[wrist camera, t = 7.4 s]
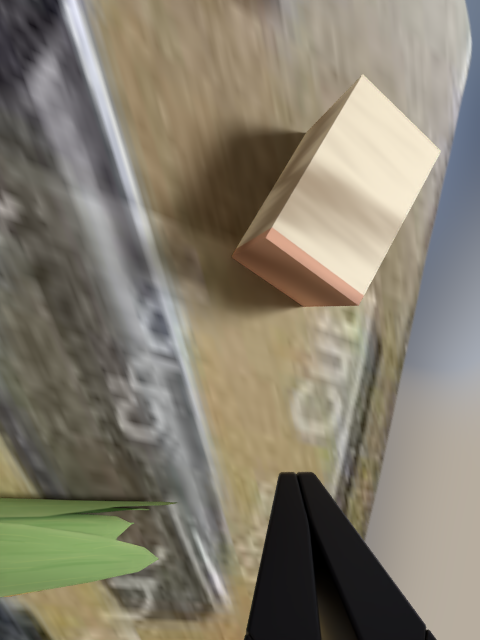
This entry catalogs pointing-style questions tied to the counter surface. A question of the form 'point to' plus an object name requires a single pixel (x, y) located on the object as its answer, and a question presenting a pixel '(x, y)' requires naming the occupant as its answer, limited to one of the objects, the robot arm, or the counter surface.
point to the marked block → (339, 201)
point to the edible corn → (64, 544)
